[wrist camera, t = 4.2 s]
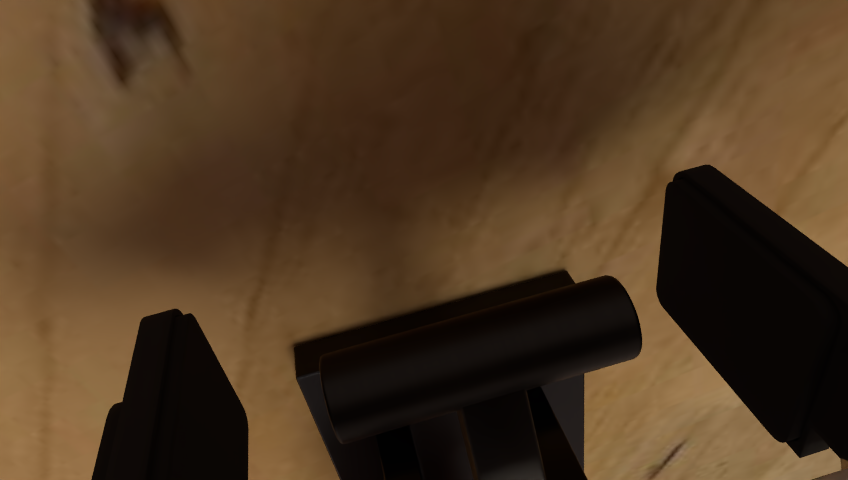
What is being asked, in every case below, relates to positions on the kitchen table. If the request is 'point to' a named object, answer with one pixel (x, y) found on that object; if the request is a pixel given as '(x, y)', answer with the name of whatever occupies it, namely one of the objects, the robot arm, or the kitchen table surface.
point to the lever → (482, 371)
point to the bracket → (441, 436)
